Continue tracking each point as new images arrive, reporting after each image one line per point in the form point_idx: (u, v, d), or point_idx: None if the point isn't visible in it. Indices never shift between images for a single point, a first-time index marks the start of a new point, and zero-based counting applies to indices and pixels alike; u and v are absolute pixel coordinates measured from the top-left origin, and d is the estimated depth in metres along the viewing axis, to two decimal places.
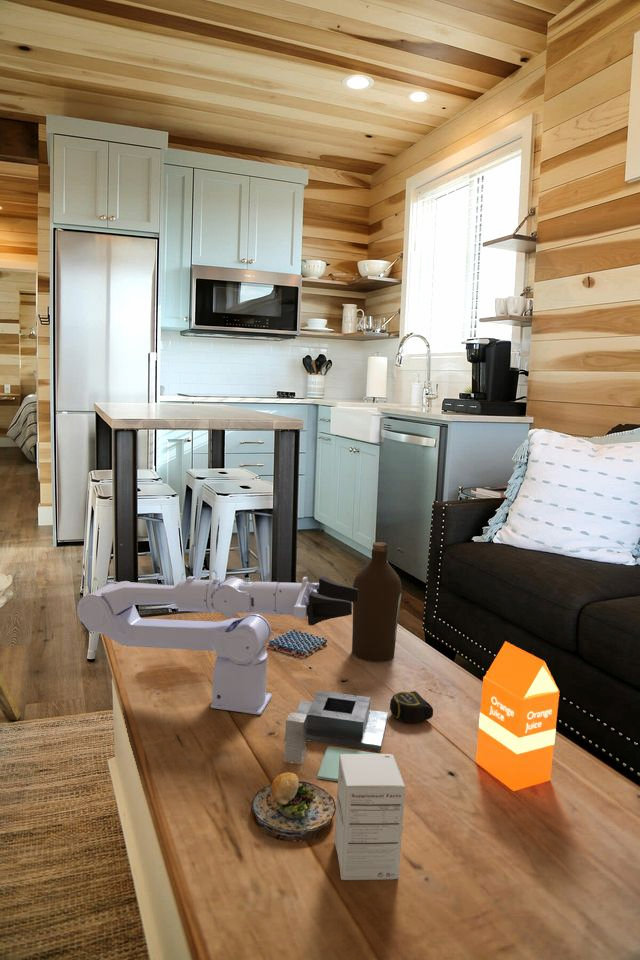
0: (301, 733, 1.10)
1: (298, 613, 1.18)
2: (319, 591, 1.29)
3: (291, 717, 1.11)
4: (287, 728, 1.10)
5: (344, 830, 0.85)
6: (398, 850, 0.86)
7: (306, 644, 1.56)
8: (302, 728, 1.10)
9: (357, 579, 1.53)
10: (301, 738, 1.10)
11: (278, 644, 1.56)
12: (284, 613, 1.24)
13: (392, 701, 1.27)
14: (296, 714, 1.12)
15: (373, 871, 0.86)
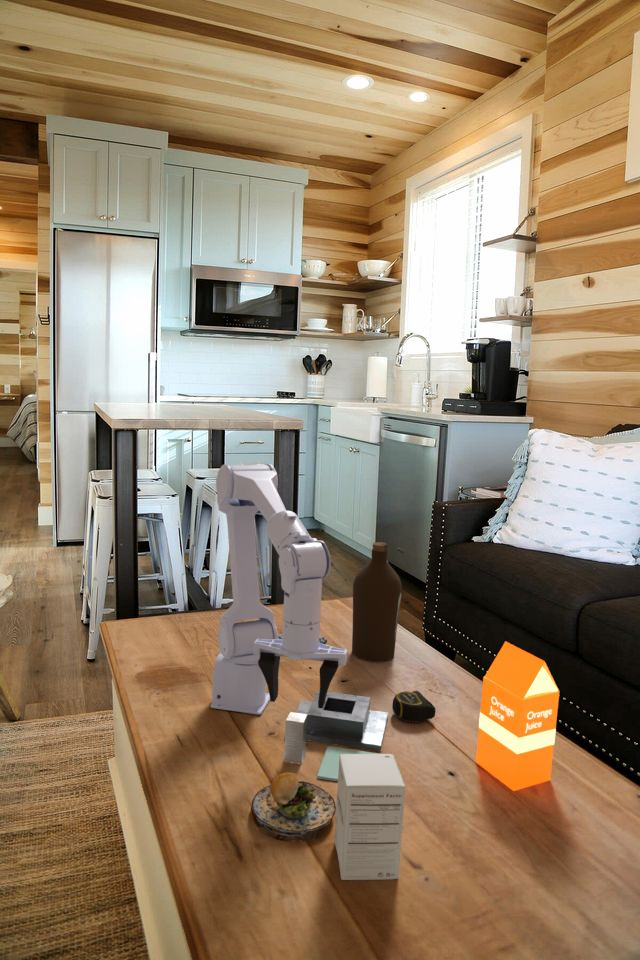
0: (301, 733, 1.10)
1: None
2: (323, 663, 1.09)
3: (291, 717, 1.11)
4: (287, 728, 1.10)
5: (344, 830, 0.85)
6: (398, 850, 0.86)
7: None
8: (302, 728, 1.10)
9: (357, 579, 1.53)
10: (302, 738, 1.10)
11: None
12: None
13: (394, 701, 1.27)
14: (296, 714, 1.12)
15: (373, 871, 0.86)
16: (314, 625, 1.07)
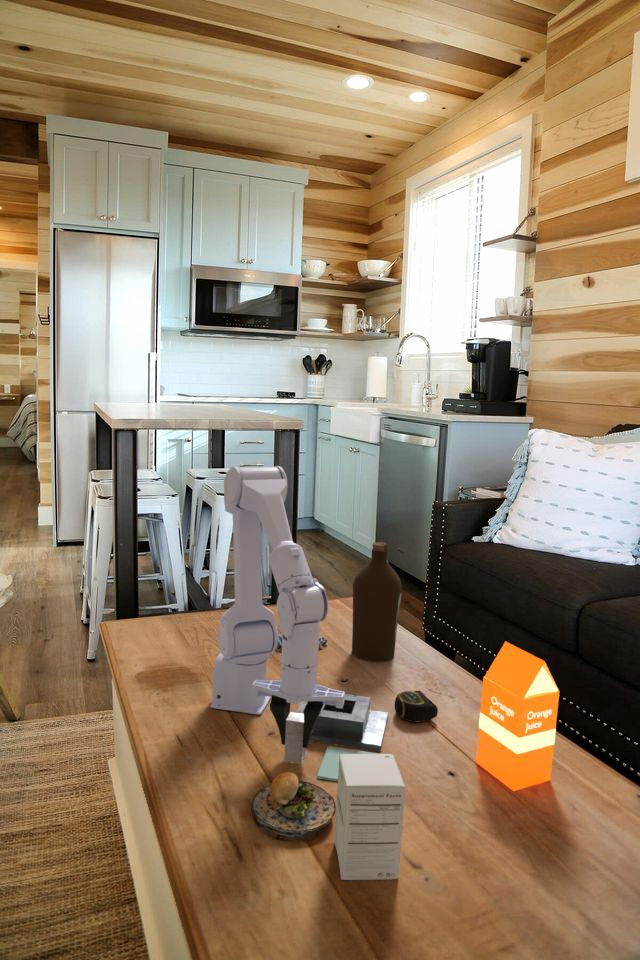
0: (301, 733, 1.10)
1: None
2: None
3: (291, 717, 1.11)
4: (287, 728, 1.10)
5: (344, 830, 0.85)
6: (398, 850, 0.86)
7: None
8: (302, 728, 1.10)
9: (357, 579, 1.53)
10: (302, 738, 1.10)
11: (278, 644, 1.56)
12: None
13: (397, 700, 1.28)
14: (296, 714, 1.12)
15: (373, 871, 0.86)
16: (311, 668, 1.08)
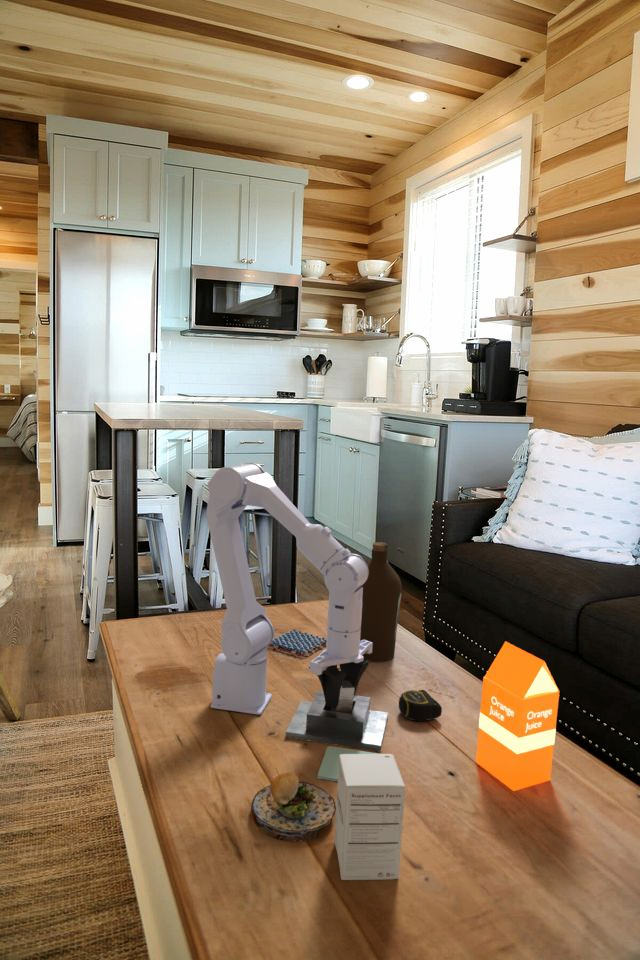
0: (352, 697, 1.21)
1: (313, 666, 1.16)
2: None
3: None
4: (340, 695, 1.20)
5: (344, 830, 0.85)
6: (398, 850, 0.86)
7: (306, 644, 1.56)
8: (353, 693, 1.21)
9: None
10: (352, 702, 1.21)
11: (278, 644, 1.56)
12: (327, 633, 1.21)
13: (401, 699, 1.28)
14: None
15: (373, 871, 0.86)
16: None
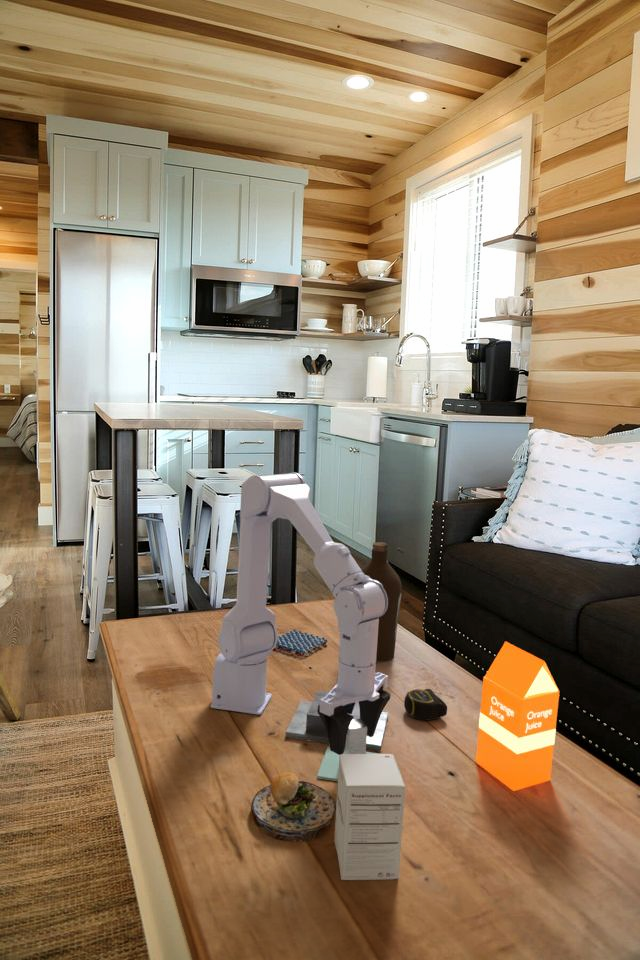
0: (365, 738, 1.09)
1: (324, 706, 1.03)
2: None
3: (351, 725, 1.09)
4: (351, 737, 1.08)
5: (344, 830, 0.85)
6: (398, 850, 0.86)
7: (306, 644, 1.56)
8: (365, 733, 1.09)
9: None
10: (365, 743, 1.09)
11: (278, 644, 1.56)
12: (338, 667, 1.08)
13: (406, 698, 1.29)
14: (352, 721, 1.10)
15: (373, 871, 0.86)
16: None
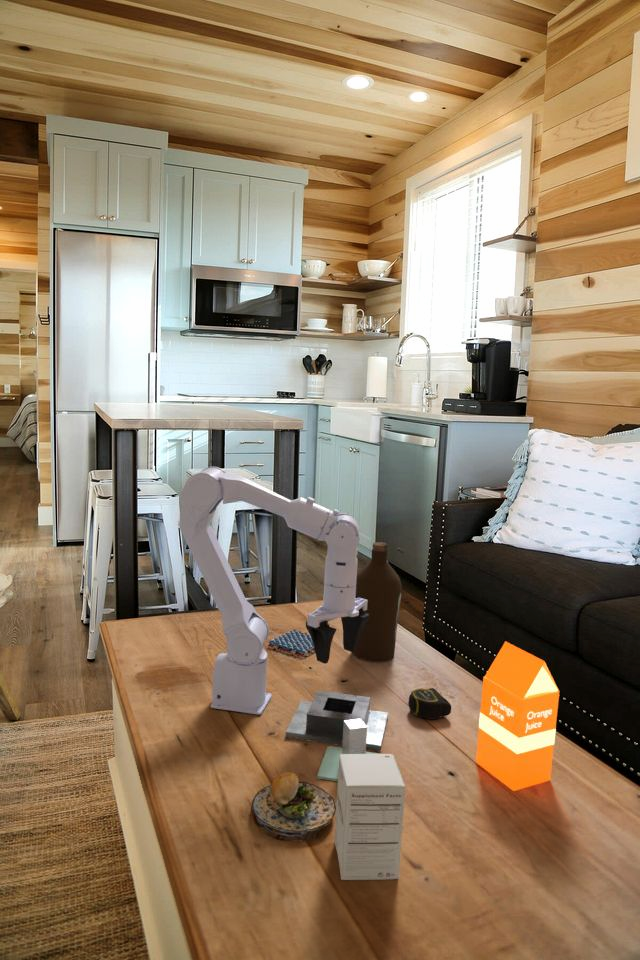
0: (365, 738, 1.09)
1: (311, 619, 1.21)
2: None
3: (351, 725, 1.09)
4: (351, 737, 1.08)
5: (344, 830, 0.85)
6: (398, 850, 0.86)
7: (306, 644, 1.56)
8: (365, 733, 1.09)
9: (357, 579, 1.53)
10: (365, 743, 1.09)
11: (278, 644, 1.56)
12: None
13: (411, 697, 1.29)
14: (352, 721, 1.10)
15: (373, 871, 0.86)
16: None
